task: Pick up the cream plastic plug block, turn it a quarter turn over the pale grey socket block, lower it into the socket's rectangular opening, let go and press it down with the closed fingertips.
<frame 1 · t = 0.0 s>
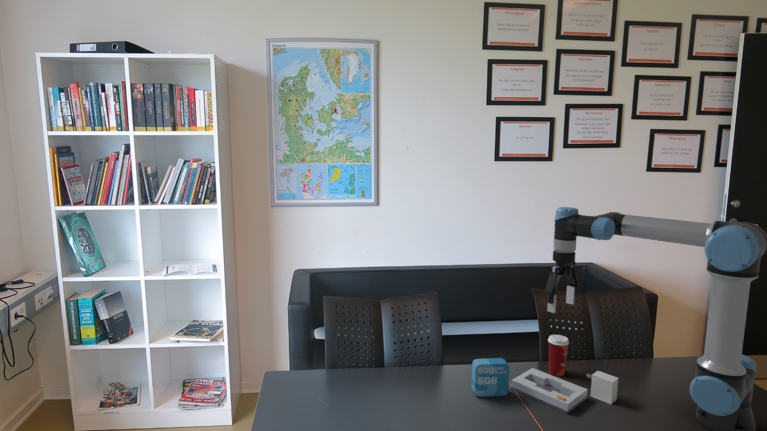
hand: (560, 307, 170), 28 cm above the table, tool pointing down, fingers open, 13 cm apart
plug: (603, 397, 162), on the table
paper cup: (556, 373, 180), on the table
data package: (489, 393, 165), on the table
socket: (548, 393, 165), on the table
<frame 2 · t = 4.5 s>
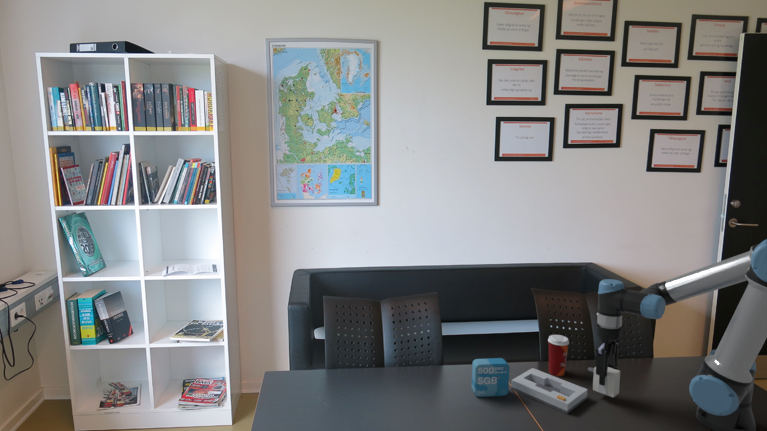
hand: (605, 390, 161), 3 cm above the table, tool pointing down, fingers closed on plug, 4 cm apart
plug: (605, 391, 161), point 3 cm above the table, touching gripper
everything else where it was.
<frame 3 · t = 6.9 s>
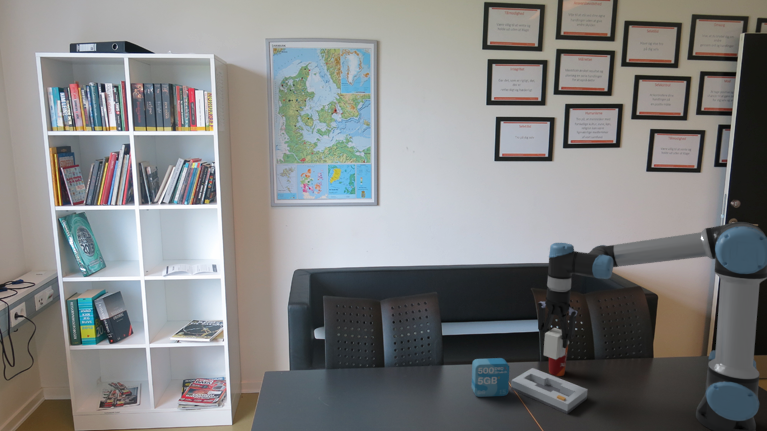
hand: (554, 353, 162), 15 cm above the table, tool pointing down, fingers closed on plug, 4 cm apart
plug: (554, 354, 162), point 15 cm above the table, touching gripper
everything else where it was.
when the fingers open (2 cm above the table, at t = 9.3 s): plug drops 1 cm, resting on socket.
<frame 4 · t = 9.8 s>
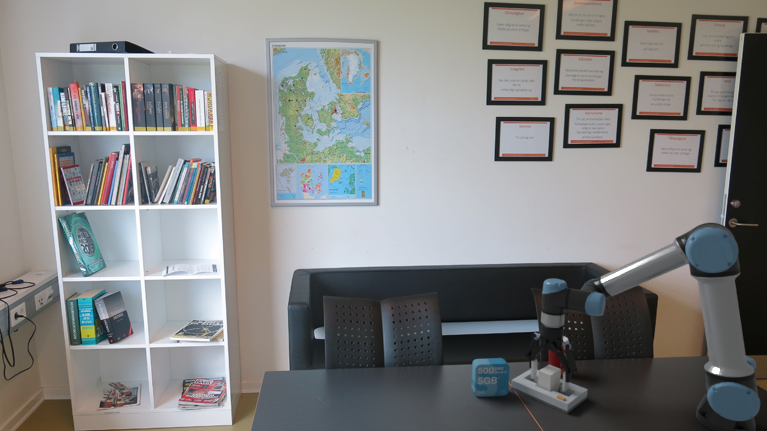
hand: (548, 383, 164), 4 cm above the table, tool pointing down, fingers open, 11 cm apart
plug: (548, 391, 164), point 1 cm above the table, touching socket
everything else where it was.
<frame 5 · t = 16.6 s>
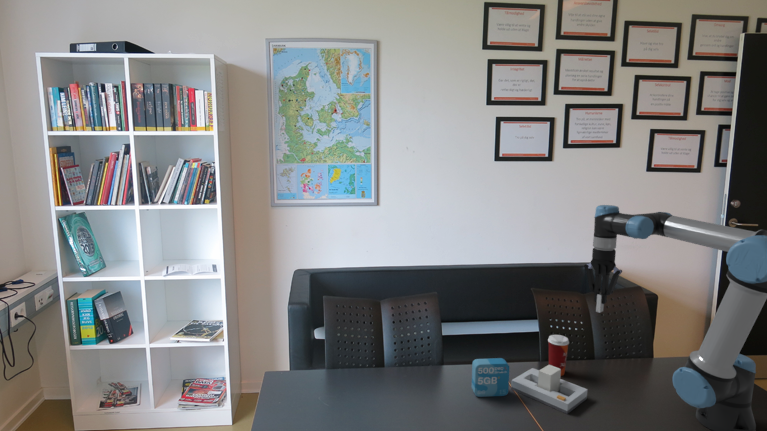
hand: (599, 311, 171), 26 cm above the table, tool pointing down, fingers closed
nothing on the table moved.
at the end: plug 0.1 cm off-centre on the socket, point 1.0 cm above the socket's base; plug tilted 0°; the gripper is holding nothing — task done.
